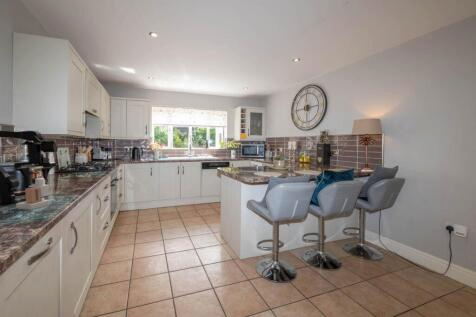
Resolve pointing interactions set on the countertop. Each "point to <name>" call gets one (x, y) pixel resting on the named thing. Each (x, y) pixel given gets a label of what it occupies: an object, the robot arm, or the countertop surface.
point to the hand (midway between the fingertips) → (36, 179)
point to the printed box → (40, 186)
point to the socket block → (33, 205)
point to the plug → (33, 195)
